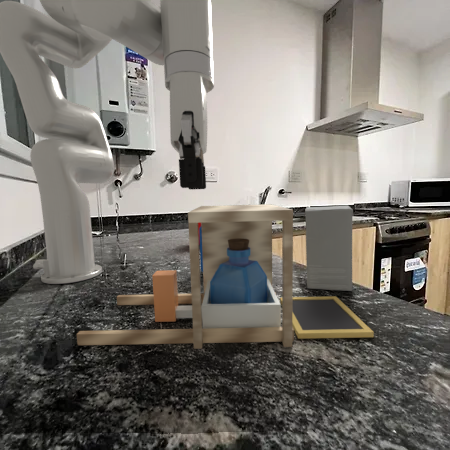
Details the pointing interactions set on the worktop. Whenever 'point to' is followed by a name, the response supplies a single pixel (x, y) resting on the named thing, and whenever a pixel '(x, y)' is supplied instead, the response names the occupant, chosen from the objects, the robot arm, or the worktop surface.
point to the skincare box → (329, 247)
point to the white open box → (213, 307)
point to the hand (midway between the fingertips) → (194, 188)
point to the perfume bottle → (238, 277)
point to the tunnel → (258, 243)
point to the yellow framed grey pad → (326, 319)
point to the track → (175, 330)
